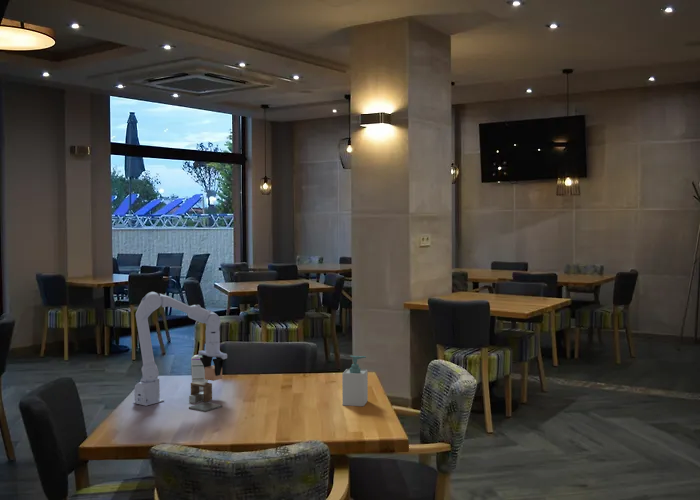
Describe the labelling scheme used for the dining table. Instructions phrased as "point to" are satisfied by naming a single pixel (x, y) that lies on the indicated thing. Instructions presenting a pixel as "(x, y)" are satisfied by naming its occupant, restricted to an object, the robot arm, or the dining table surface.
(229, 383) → the dining table surface
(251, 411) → the dining table surface
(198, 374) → the syrup box
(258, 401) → the dining table surface
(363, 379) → the soap bottle
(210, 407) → the coaster
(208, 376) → the block
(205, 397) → the bracket
